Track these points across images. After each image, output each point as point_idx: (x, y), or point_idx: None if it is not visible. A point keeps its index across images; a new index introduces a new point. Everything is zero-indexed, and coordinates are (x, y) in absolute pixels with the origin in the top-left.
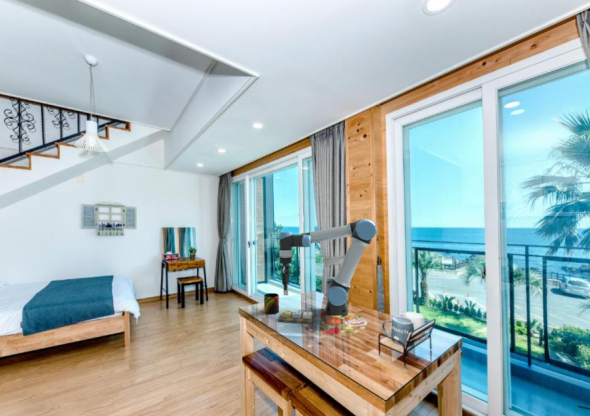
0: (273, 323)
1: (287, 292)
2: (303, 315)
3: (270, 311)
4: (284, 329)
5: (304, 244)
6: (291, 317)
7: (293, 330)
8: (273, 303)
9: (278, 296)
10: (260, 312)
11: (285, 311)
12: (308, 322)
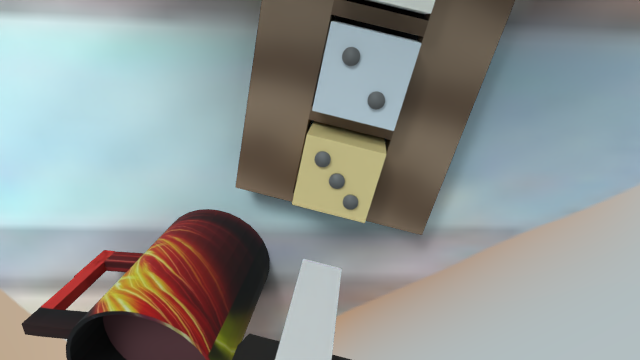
0: (402, 248)
1: (335, 306)
2: (432, 4)
3: (260, 288)
4: (534, 177)
5: None
6: None
7: (577, 108)
8: (234, 312)
9: (149, 306)
10: None
11: (322, 190)
12: None
